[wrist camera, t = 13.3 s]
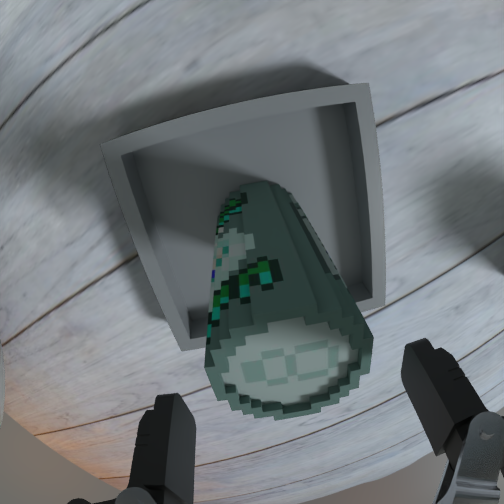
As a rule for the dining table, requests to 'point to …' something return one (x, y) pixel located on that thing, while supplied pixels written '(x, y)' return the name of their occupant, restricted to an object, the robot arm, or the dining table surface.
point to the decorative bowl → (2, 384)
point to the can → (279, 311)
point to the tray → (250, 171)
